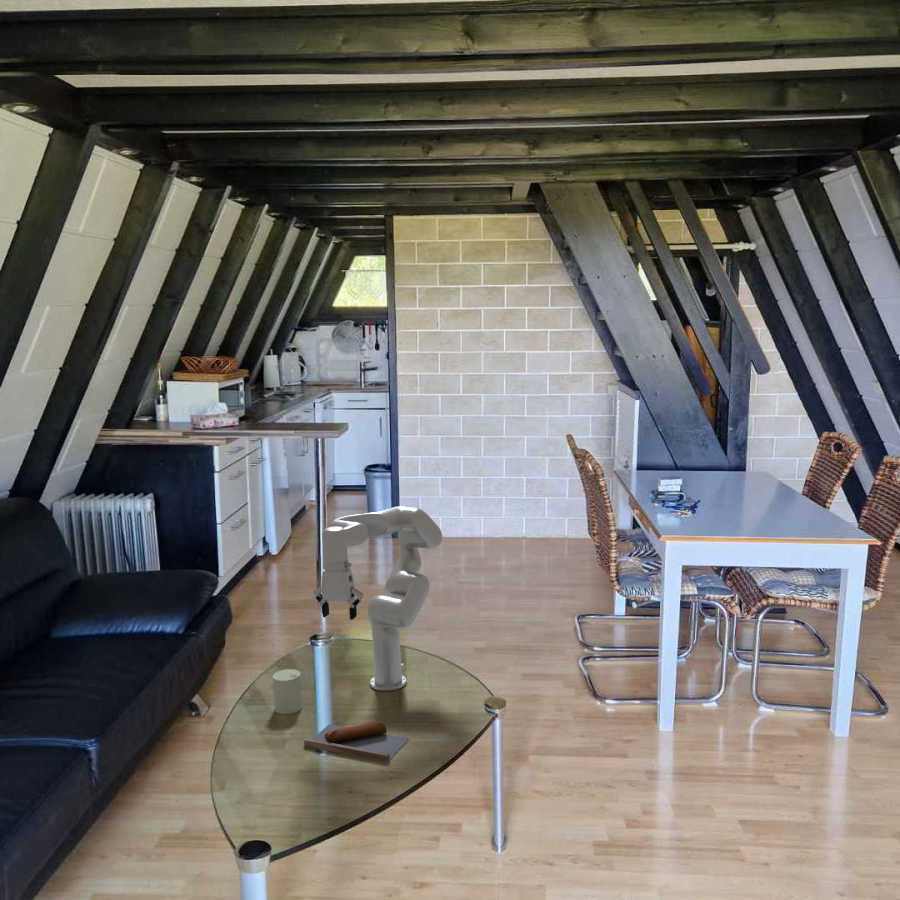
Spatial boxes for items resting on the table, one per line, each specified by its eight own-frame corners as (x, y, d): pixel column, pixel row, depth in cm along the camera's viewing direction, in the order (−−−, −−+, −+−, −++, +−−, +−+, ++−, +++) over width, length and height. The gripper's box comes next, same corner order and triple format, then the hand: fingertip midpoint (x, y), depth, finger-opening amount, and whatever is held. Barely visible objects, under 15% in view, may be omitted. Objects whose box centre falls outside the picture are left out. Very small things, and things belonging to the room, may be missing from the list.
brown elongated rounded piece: (379, 722, 258) (381, 709, 254) (385, 741, 253) (387, 729, 249) (322, 734, 252) (323, 721, 248) (327, 754, 247) (328, 741, 243)
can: (294, 715, 267) (291, 680, 265) (269, 712, 270) (266, 677, 268) (308, 703, 275) (305, 669, 274) (283, 700, 278) (281, 666, 276)
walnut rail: (306, 744, 248) (306, 738, 248) (389, 760, 237) (389, 753, 237) (304, 746, 247) (303, 740, 246) (387, 762, 236) (387, 755, 236)
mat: (329, 724, 260) (329, 724, 260) (409, 739, 249) (409, 738, 249) (306, 744, 248) (306, 743, 248) (389, 760, 237) (389, 759, 237)
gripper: (365, 563, 263) (368, 615, 265) (317, 560, 269) (321, 611, 271) (355, 570, 256) (358, 623, 258) (306, 567, 262) (309, 619, 264)
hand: (339, 617), depth 265 cm, fingers open, 9 cm apart
